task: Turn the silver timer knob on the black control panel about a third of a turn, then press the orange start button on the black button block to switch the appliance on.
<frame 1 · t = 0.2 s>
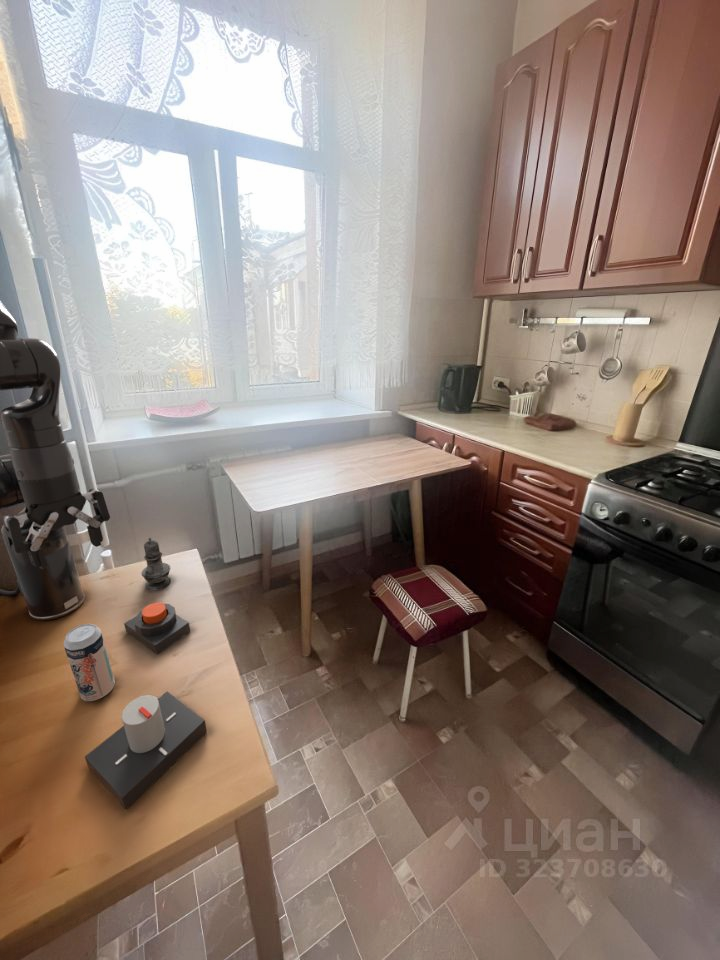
hand: (70, 555, 69), 17 cm above the table, tool pointing down, fingers open, 8 cm apart
timer panel: (150, 749, 55), on the table
timer knob: (143, 722, 53), point 5 cm above the table, hinge at 0.0°
dark grey stone stupa: (158, 583, 90), on the table
start button: (154, 613, 74), point 5 cm above the table, slide at 0.2 cm
beer can: (98, 691, 64), on the table
button block: (158, 631, 76), on the table
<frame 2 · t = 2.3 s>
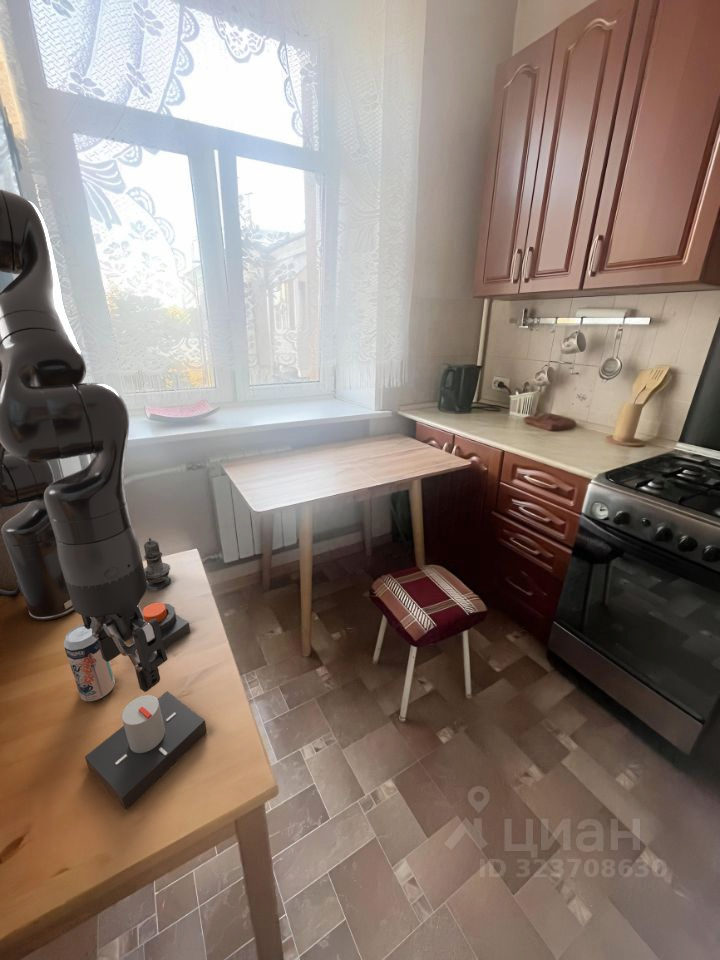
hand: (131, 670, 51), 14 cm above the table, tool pointing down, fingers open, 8 cm apart
nothing on the table moved.
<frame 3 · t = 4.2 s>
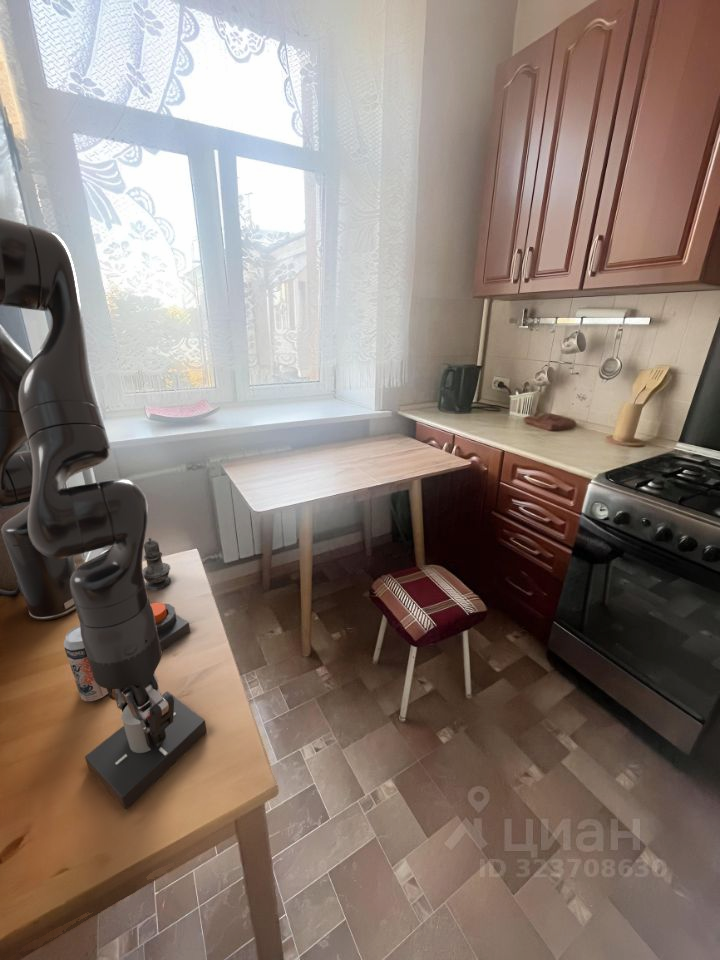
hand: (146, 732, 54), 4 cm above the table, tool pointing down, fingers closed on timer knob, 4 cm apart
timer knob: (143, 722, 53), point 5 cm above the table, hinge at -0.1°, touching gripper
everything else where it was.
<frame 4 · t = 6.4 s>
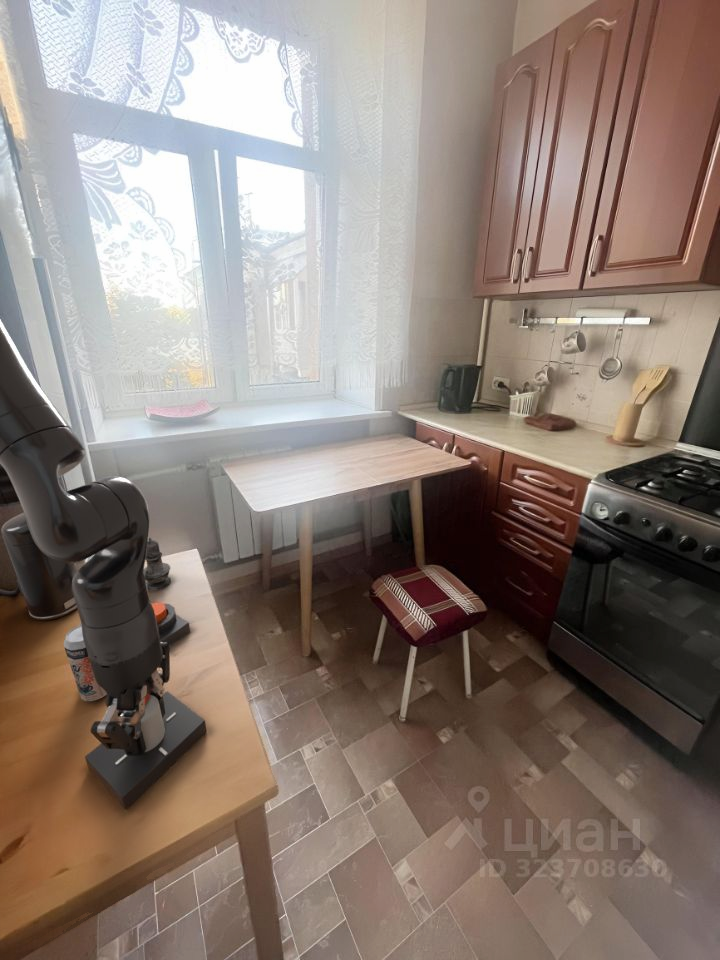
hand: (147, 733, 54), 3 cm above the table, tool pointing down, fingers open, 4 cm apart
timer knob: (143, 722, 53), point 5 cm above the table, hinge at 122.3°
everything else where it was.
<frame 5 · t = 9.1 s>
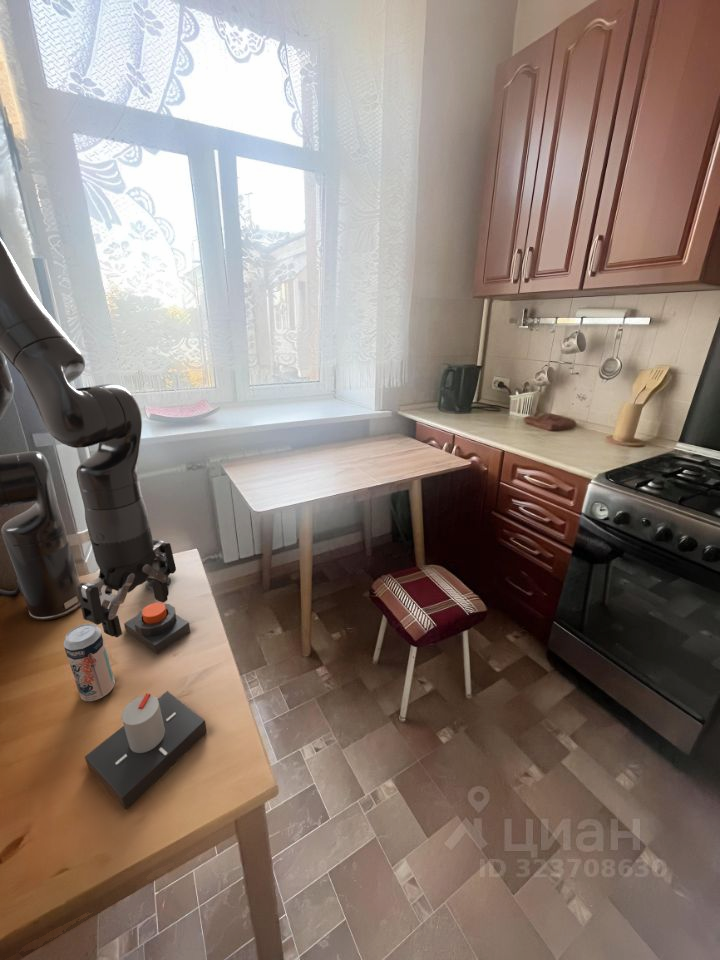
hand: (139, 616, 63), 12 cm above the table, tool pointing down, fingers open, 8 cm apart
nothing on the table moved.
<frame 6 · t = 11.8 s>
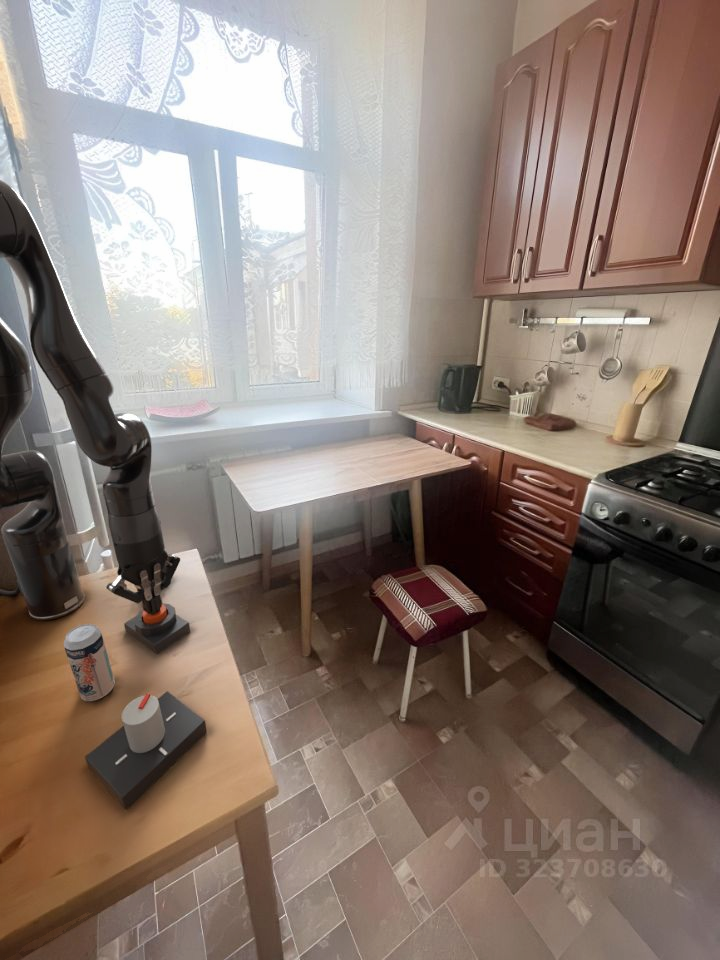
hand: (153, 611, 74), 5 cm above the table, tool pointing down, fingers closed
start button: (154, 614, 75), point 4 cm above the table, slide at -0.2 cm, touching gripper
everything else where it was.
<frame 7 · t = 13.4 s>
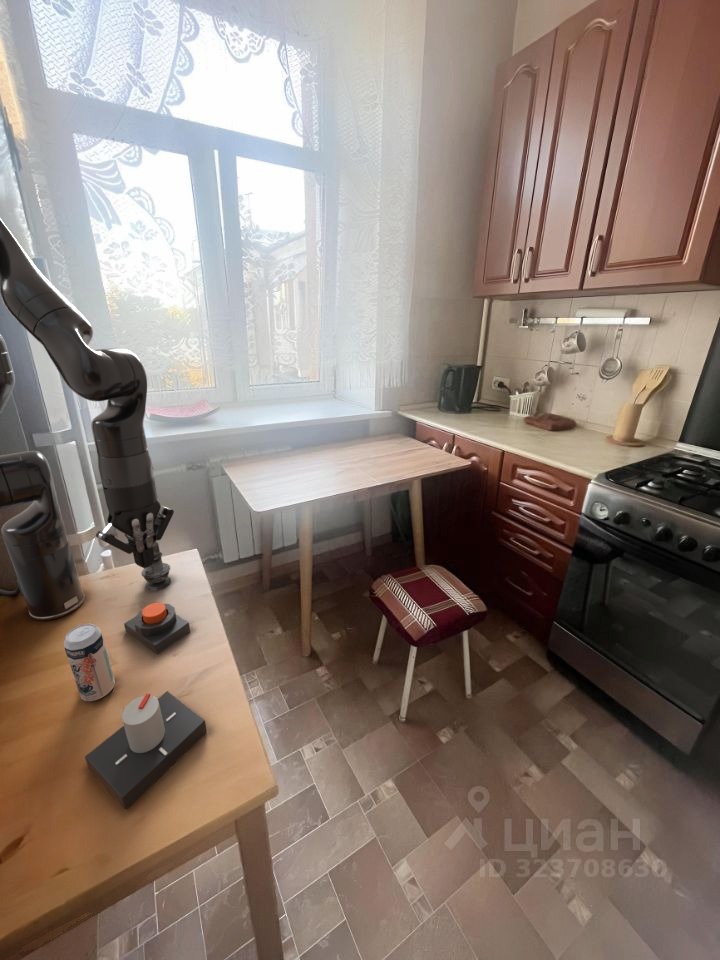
hand: (145, 565, 71), 15 cm above the table, tool pointing down, fingers closed
start button: (154, 613, 74), point 5 cm above the table, slide at 0.2 cm
everything else where it was.
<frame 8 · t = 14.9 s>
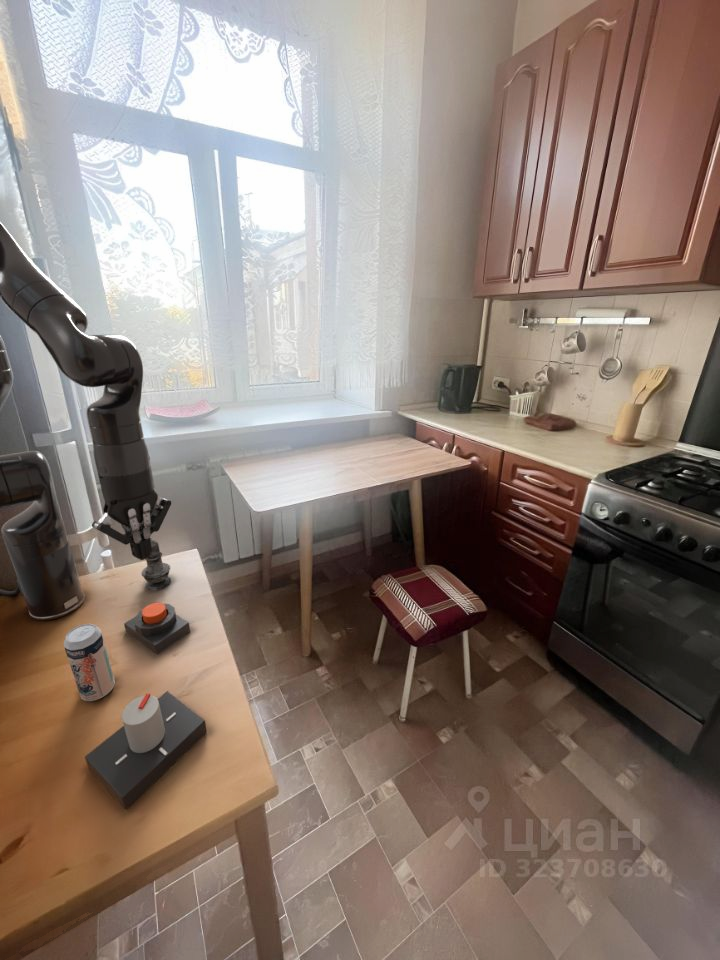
hand: (143, 557, 70), 17 cm above the table, tool pointing down, fingers closed
nothing on the table moved.
at the end: timer knob at +122° (first picture: +0°); start button pushed in 1.1 cm at the most during the clip, back to 0.2 cm at the end; start button slide at 0.2 cm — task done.
